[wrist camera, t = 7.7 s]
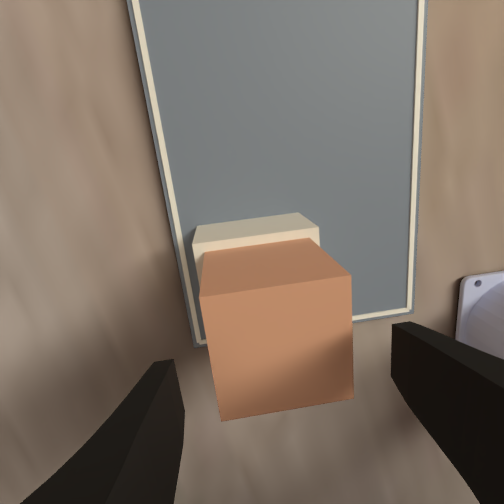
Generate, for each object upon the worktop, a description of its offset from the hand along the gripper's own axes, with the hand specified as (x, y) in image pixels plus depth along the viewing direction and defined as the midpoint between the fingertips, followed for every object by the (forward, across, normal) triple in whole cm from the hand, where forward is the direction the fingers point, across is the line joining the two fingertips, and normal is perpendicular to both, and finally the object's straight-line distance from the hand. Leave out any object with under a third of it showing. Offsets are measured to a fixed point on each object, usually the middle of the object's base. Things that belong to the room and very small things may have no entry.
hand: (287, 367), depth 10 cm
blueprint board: (+10, -3, -5) cm, 12 cm away
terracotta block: (+6, 0, 0) cm, 6 cm away
